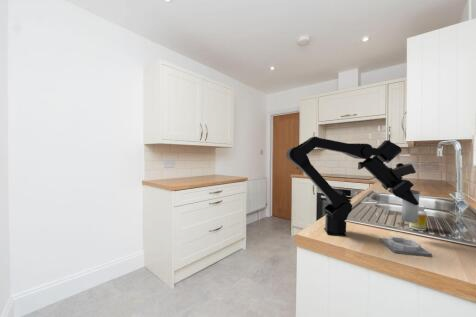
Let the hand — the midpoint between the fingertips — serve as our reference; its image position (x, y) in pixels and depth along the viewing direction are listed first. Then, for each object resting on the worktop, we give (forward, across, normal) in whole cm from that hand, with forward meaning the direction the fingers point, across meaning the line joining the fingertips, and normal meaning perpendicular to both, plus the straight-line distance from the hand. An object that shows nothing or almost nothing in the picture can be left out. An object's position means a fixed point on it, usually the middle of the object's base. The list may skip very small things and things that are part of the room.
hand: (415, 203), depth 74 cm
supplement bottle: (+14, +17, +6) cm, 23 cm away
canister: (+4, 0, +6) cm, 7 cm away
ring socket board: (+6, -9, +13) cm, 17 cm away
